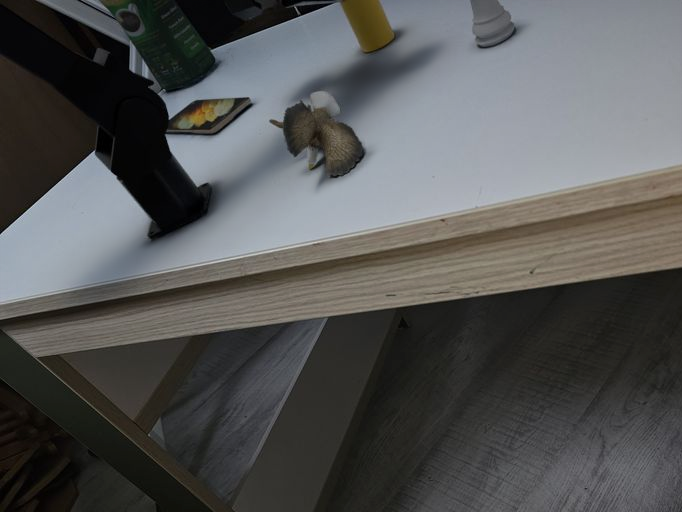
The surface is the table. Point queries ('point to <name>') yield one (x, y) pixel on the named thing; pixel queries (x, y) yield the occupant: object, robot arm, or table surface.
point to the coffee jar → (164, 40)
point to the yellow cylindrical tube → (368, 23)
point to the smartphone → (207, 115)
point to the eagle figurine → (320, 133)
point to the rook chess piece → (490, 22)
